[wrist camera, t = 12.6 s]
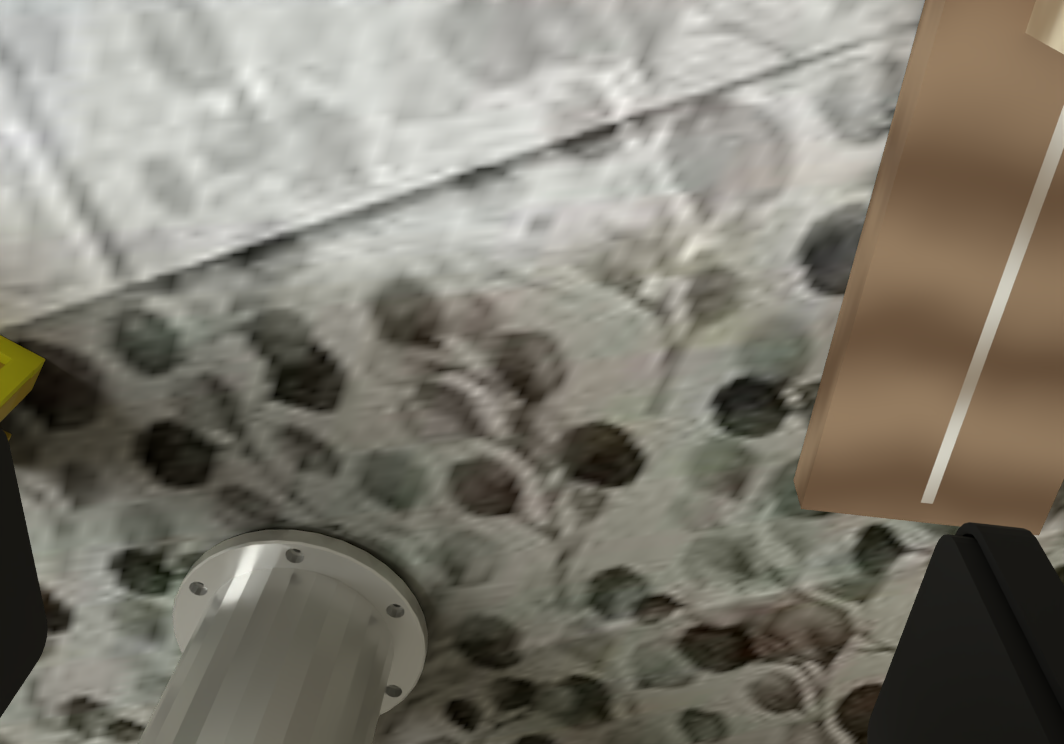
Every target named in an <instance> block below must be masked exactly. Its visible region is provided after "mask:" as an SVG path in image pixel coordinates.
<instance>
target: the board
mask: <svg viewBox="0 0 1064 744" xmlns="http://www.w3.org/2000/svg"><path fill="white" fill-rule="evenodd" d="M1035 2H1036V0H925V3H924V7H923V10H922V14H921V18H920V21H919V25H918V28H917V32H916V36H915V39H914V43H913V47H912V50H911V54H910V58H909V61H908V65H907V69H906V72H905V76H904V80H903V83H902V87H901V90H900V94H899V98H898V101H897V105H896V109H895V112H894V116H893V120H892V123H891V127H890V131H889V134H888V138H887V142H886V145H885V149H884V152H883V156H882V160H881V163H880V167H879V171H878V174H877V178H876V182H875V185H874V189H873V193H872V196H871V200H870V204H869V207H868V211H867V214H866V218H865V222H864V225H863V229H862V233H861V236H860V240H859V244H858V247H857V251H856V255H855V258H854V262H853V266H852V269H851V273H850V276H849V280H848V284H847V287H846V291H845V295H844V298H843V302H842V306H841V309H840V313H839V317H838V320H837V324H836V328H835V331H834V335H833V338H832V342H831V346H830V349H829V353H828V357H827V360H826V364H825V368H824V371H823V375H822V379H821V382H820V386H819V390H818V393H817V397H816V400H815V404H814V408H813V411H812V415H811V419H810V422H809V426H808V430H807V433H806V437H805V441H804V444H803V448H802V452H801V455H800V459H799V462H798V466H797V470H796V473H795V477H794V484H795V488H796V491H797V495H798V499H799V502H800V506H801V509H808V510H817V511H826V512H835V513H844V514H853V515H862V516H871V517H880V518H889V519H898V520H907V521H916V522H925V523H934V524H943V525H952V526H962V525H963V524H964V523H968V522H973V523H982V524H991V525H1000V526H1008V527H1017V528H1024V529H1027V530H1029V531H1031V532H1032V534H1033V535H1039V534H1040V531H1041V529H1042V527H1043V525H1044V522H1045V520H1046V518H1047V516H1048V513H1049V511H1050V509H1051V507H1052V505H1053V502H1054V500H1055V498H1056V496H1057V493H1058V491H1059V489H1060V487H1061V484H1062V482H1063V480H1064V54H1062V53H1060V52H1059V51H1057V50H1055V49H1053V48H1051V47H1050V46H1048V45H1046V44H1044V43H1043V42H1041V41H1039V40H1037V39H1035V38H1034V37H1032V36H1030V35H1028V34H1026V33H1025V32H1026V29H1027V26H1028V23H1029V20H1030V17H1031V14H1032V11H1033V8H1034V5H1035Z"/></svg>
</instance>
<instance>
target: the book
mask: <svg viewBox="0 0 1064 744" xmlns="http://www.w3.org/2000/svg"><path fill="white" fill-rule="evenodd" d="M45 360H46V359H44V358H42V357H40V356H39V355H37V354H35V353H33V352H31V351H29V350H27V349H25V348H23V347H22V346H20V345H18V344H16V343H14V342H12V341H10V340H8V339H7V338H5V337H3V336H1V335H0V422H1V421H2V420H3V419H4V418H5V417H6V416H7V415H8V414H9V413H10V412H11V411H12V410H13V409H14V408H15V407H16V406H17V405H18V404H19V403H20V402H21V401H22V400H23V399H24V397H25V396H26V395H27V394H28V393H29V392H30V391H31V390H32V388H33V386H34V384H35V382H36V379H37V377H38V375H39V373H40V370H41V368H42V366H43V364H44V362H45ZM3 431H4V430H3ZM4 432H5V433H6V436H7V438H8V442H9V439H10V437H11V435H12V434H10V433H8V432H6V431H4Z"/></svg>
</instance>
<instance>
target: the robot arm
mask: <svg viewBox="0 0 1064 744" xmlns="http://www.w3.org/2000/svg"><path fill="white" fill-rule="evenodd" d="M172 618H173V626H174V633H175V637H176V639H177V642H178V644H179V647H180V650H181V652H182V656H181V658H180V660H179V662H178V664H177V666H176V668H175V670H174V672H173V674H172V676H171V678H170V680H169V682H168V684H167V686H166V688H165V690H164V692H163V694H162V696H161V698H160V700H159V702H158V704H157V706H156V708H155V710H154V712H153V714H152V716H151V718H150V720H149V722H148V724H147V726H146V728H145V730H144V732H143V734H142V736H141V738H140V740H139V742H138V744H372V742H373V738H374V734H375V730H376V726H377V722H378V718H379V716H380V715H382V714H384V713H386V712H388V711H390V710H391V709H392V708H394V707H395V706H396V705H398V704H399V703H400V702H402V701H403V700H404V699H405V698H406V697H407V696H408V694H409V693H410V692H411V691H412V690H413V689H414V687H415V686H416V684H417V682H418V680H419V678H420V676H421V673H422V671H423V667H424V663H425V659H426V654H427V646H428V631H427V626H426V621H425V617H424V614H423V612H422V610H421V608H420V605H419V603H418V601H417V599H416V597H415V596H414V595H413V593H412V592H411V591H410V589H409V588H408V587H407V585H406V584H405V583H404V581H403V580H402V579H401V578H400V577H399V576H398V575H396V574H395V573H394V572H393V571H392V570H391V569H390V568H389V567H388V566H387V565H386V564H384V563H382V562H381V561H379V560H378V559H376V558H375V557H373V556H372V555H370V554H369V553H367V552H366V551H364V550H362V549H360V548H357V547H355V546H353V545H351V544H349V543H347V542H345V541H342V540H339V539H335V538H332V537H329V536H325V535H322V534H319V533H312V532H306V531H299V530H263V531H257V532H250V533H245V534H242V535H239V536H236V537H233V538H230V539H228V540H225V541H223V542H221V543H219V544H218V545H216V546H214V547H213V548H211V549H209V550H208V551H206V552H205V553H204V554H203V555H202V556H201V557H200V558H199V559H198V560H197V561H196V562H195V563H194V564H193V565H192V567H191V568H190V570H189V572H188V573H187V575H186V577H185V578H184V580H183V582H182V583H181V586H180V588H179V590H178V593H177V595H176V597H175V600H174V608H173V615H172ZM46 638H47V619H46V615H45V610H44V605H43V601H42V596H41V591H40V587H39V582H38V577H37V573H36V568H35V563H34V559H33V554H32V549H31V545H30V540H29V535H28V531H27V526H26V521H25V516H24V512H23V507H22V502H21V498H20V493H19V488H18V484H17V479H16V474H15V470H14V465H13V460H12V456H11V451H10V446H9V442H8V438H7V436H6V433H5V432H4V431H3V430H2V429H1V428H0V717H1V716H2V714H3V713H4V711H5V710H6V708H7V707H8V705H9V704H10V702H11V701H12V699H13V698H14V696H15V695H16V693H17V692H18V690H19V689H20V687H21V686H22V684H23V683H24V681H25V680H26V678H27V677H28V675H29V674H30V672H31V671H32V669H33V668H34V666H35V665H36V663H37V662H38V660H39V658H40V656H41V654H42V652H43V649H44V646H45V642H46ZM867 741H868V744H1064V585H1063V583H1062V582H1061V580H1060V578H1059V576H1058V575H1057V573H1056V571H1055V570H1054V568H1053V566H1052V564H1051V563H1050V561H1049V559H1048V558H1047V556H1046V554H1045V552H1044V551H1043V549H1042V547H1041V546H1040V544H1039V542H1038V540H1037V539H1036V537H1035V536H1034V535H1033V534H1032V532H1031V531H1029V530H1027V529H1024V528H1017V527H1008V526H1000V525H991V524H982V523H973V522H968V523H964V524H963V525H962V526H961V527H960V528H959V529H958V531H957V532H956V534H955V535H948V534H947V535H943V536H942V537H941V538H940V539H939V541H938V543H937V545H936V547H935V549H934V552H933V555H932V557H931V560H930V562H929V565H928V568H927V570H926V573H925V576H924V578H923V581H922V583H921V586H920V589H919V591H918V594H917V596H916V599H915V602H914V604H913V607H912V610H911V612H910V615H909V617H908V620H907V623H906V625H905V628H904V630H903V633H902V636H901V638H900V641H899V644H898V646H897V649H896V651H895V654H894V657H893V659H892V662H891V665H890V667H889V670H888V672H887V675H886V678H885V680H884V683H883V685H882V688H881V691H880V693H879V696H878V699H877V701H876V704H875V706H874V709H873V712H872V714H871V717H870V721H869V726H868V740H867Z"/></svg>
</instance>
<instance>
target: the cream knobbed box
mask: <svg viewBox="0 0 1064 744" xmlns="http://www.w3.org/2000/svg"><path fill="white" fill-rule="evenodd" d="M1025 33H1026V34H1028V35H1030V36H1032V37H1034V38H1035V39H1037V40H1039V41H1041V42H1043V43H1044V44H1046V45H1048V46H1050V47H1051V48H1053V49H1055V50H1057V51H1059V52H1060V53H1062V54H1064V0H1036V2H1035V5H1034V8H1033V11H1032V14H1031V17H1030V20H1029V23H1028V26H1027V29H1026V32H1025Z"/></svg>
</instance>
